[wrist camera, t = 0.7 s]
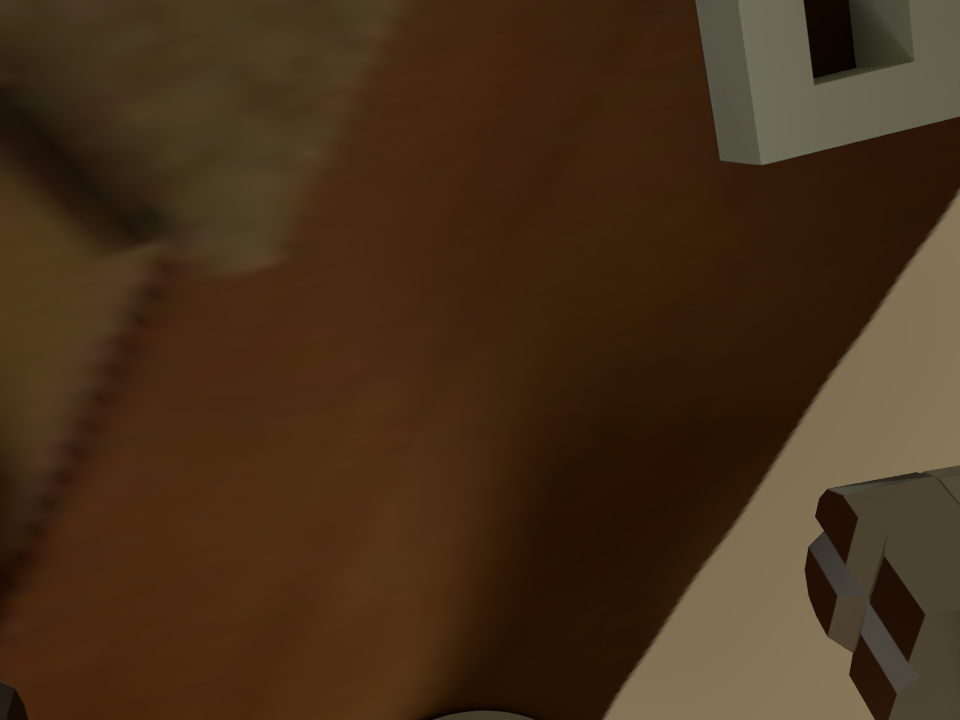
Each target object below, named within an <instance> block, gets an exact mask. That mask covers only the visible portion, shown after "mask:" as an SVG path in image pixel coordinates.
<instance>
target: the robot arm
mask: <svg viewBox="0 0 960 720" xmlns="http://www.w3.org/2000/svg"><path fill="white" fill-rule="evenodd" d="M815 517H816V519H817V520H818V522H819V523H820V525H821V527H822V528H823V530H824V532H823V533H822V534H821V535H820V536H819V537H818V538H817V539H816V540H815V541H814V542H813V543H812V544H811V545H810V546H809V547H808V553H807V559H806V565H805V574H806V581H807V588H808V595H809V598H810V601H811V603H812V606H813V609H814V611H815V614H816V616H817V618H818V620H819V622H820V624H821V625H822V627H823V629H824V631H825V633H826V634H827V636H828V637H829V638H830V639H832V640H834V641H835V642H837V643H838V644H840V645H841V646H843V647H845V648H846V649H848V650H849V651H851V652H853V656H852V662H851V668H850V673H849V675H850V677H851V679H852V681H853V682H854V684H855V686H856V688H857V689H858V691H859V693H860V695H861V696H862V698H863V700H864V701H865V703H866V705H867V707H868V708H869V710H870V712H871V714H872V715H873V717H874V719H875V720H960V466H954V467H948V468H943V469H937V470H931V471H925V472H922V473H917V472H916V473H910V474H905V475H900V476H894V477H889V478H883V479H878V480H873V481H867V482H862V483H857V484H851V485H846V486H841V487H835V488H830V489H827V490H826V491H825V492H824V494H823V495H822V496H821V497H820V498H819V502H818V507H817V511H816V515H815ZM0 720H29V719H28V716H27V712H26V709H25V705H24V703H23V701H22V699H21V698H20V696H19V695H18V693H17V691H16V690H15V688H13V687H11V686H9V685H6V684H4V683H2V682H0ZM434 720H534V719H531V718H528V717H525V716H522V715H518V714H513V713H507V712H500V711H470V712H462V713H456V714H452V715H447V716H444V717H440V718H437V719H434Z"/></svg>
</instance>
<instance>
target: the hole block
mask: <svg viewBox="0 0 960 720" xmlns="http://www.w3.org/2000/svg"><path fill="white" fill-rule="evenodd" d="M695 1H696V8H697V14H698V20H699V27H700V33H701V40H702V46H703V53H704V59H705V66H706V72H707V78H708V85H709V91H710V98H711V104H712V111H713V117H714V124H715V130H716V137H717V143H718V149H719V156H720V161H729V162H738V163H747V164H755V165H764V164H768V163H772V162H776V161H781V160H785V159H789V158H793V157H797V156H801V155H805V154H809V153H813V152H817V151H821V150H825V149H829V148H833V147H837V146H841V145H846V144H850V143H854V142H858V141H862V140H866V139H870V138H874V137H878V136H882V135H886V134H890V133H894V132H898V131H902V130H907V129H911V128H915V127H919V126H923V125H927V124H931V123H935V122H939V121H943V120H947V119H951V118H955V117H959V116H960V0H849V8H850V17H851V26H852V35H853V44H854V53H855V62H856V68H854V69H850V70H846V71H841V72H837V73H833V74H829V75H825V76H821V77H817V78H813V73H812V65H811V57H810V49H809V41H808V33H807V25H806V17H805V9H804V1H803V0H695Z"/></svg>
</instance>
